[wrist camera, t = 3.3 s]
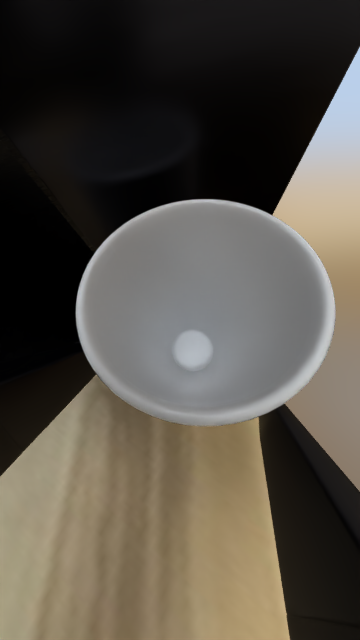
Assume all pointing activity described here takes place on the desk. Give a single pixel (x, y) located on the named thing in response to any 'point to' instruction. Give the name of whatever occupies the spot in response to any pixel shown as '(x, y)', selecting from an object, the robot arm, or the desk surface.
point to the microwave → (145, 126)
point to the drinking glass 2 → (205, 312)
